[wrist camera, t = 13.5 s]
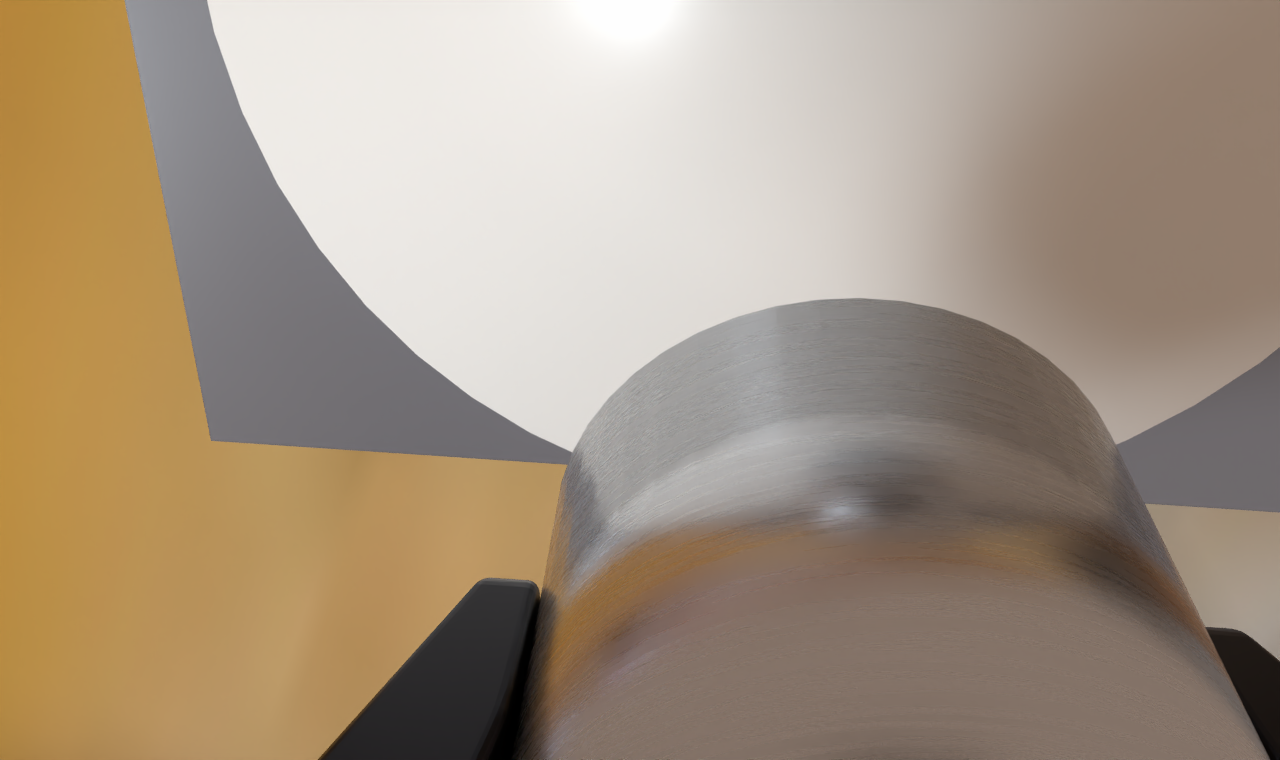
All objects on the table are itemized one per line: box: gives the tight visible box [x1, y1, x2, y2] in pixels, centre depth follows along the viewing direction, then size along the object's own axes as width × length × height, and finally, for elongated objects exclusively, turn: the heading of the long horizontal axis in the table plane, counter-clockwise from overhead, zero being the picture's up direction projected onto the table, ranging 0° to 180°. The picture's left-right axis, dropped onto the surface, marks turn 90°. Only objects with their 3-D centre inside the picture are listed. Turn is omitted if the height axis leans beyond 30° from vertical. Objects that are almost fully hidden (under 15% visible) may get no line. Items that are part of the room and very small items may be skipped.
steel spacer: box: [511, 298, 1270, 760], centre depth 8 cm, size 4×4×4 cm
